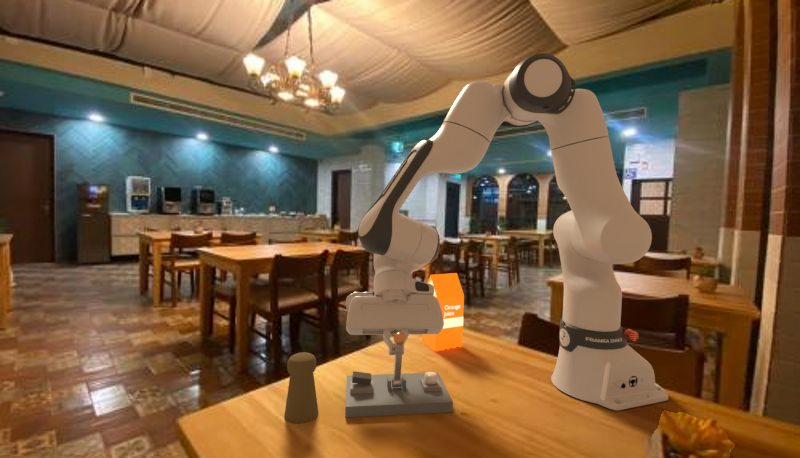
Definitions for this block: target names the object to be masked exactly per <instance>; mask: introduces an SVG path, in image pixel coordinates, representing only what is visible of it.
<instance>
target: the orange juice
mask: <svg viewBox="0 0 800 458" xmlns="http://www.w3.org/2000/svg"><path fill="white" fill-rule="evenodd" d="M426 283H428V284H431V285H433V286H434V296H435V297H436V298H437V299H438V301H439V303H440V307H441V310H442V314H443V320H444V326H443V329H442V330H441V332H440V333H439V334H421V342H422V343H423V344H424V343H425V344H424V345H426V346H427V347H428V346H429V347H428V348H429V349H431V350H432V351H433V352H435V351H436V352H440V351H445V349H447V350H451V349H450V348H453V349H457V348H456V347H459V348H462V347H463V340H464V339H463V338H464V337H463V334H464V332H463V331H464V308H465V305H464V304H465V294H464V291H463V288H462V285H461V282H460V279H459V275H458V273H457V272H453V273H452V272H451V273H435V274H430V275H429V278H428V280H427V282H426ZM461 346H462V347H461Z"/></svg>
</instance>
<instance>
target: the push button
mask: <svg viewBox="0 0 800 458" xmlns="http://www.w3.org/2000/svg"><path fill="white" fill-rule="evenodd" d="M424 373H425V379H424V381H425V383H427V384H436V383H437V372H434V371H425V372H424Z"/></svg>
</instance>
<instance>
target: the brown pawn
mask: <svg viewBox="0 0 800 458" xmlns="http://www.w3.org/2000/svg"><path fill="white" fill-rule="evenodd" d="M286 369H287V370H286V371H287V372H288V374H289V381H288V390H287V394H286V403H285V411H284V418H285V419H284V420H286V421H287V422H289V423H292V424H303V423H308V422H310V421H312V420H314V419H315V418H316V417H317V416H318V415H319V407H318V406H319V405H318V399H317V392H316V391H317V390H316V383H315V375H314V372H315V371H316V369H317V359H316V356H315V355H314V354H312V353H310V352H305V351H304V352H297V353H294V354H292V355H290V356H289V359H288V360H287V364H286Z"/></svg>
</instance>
